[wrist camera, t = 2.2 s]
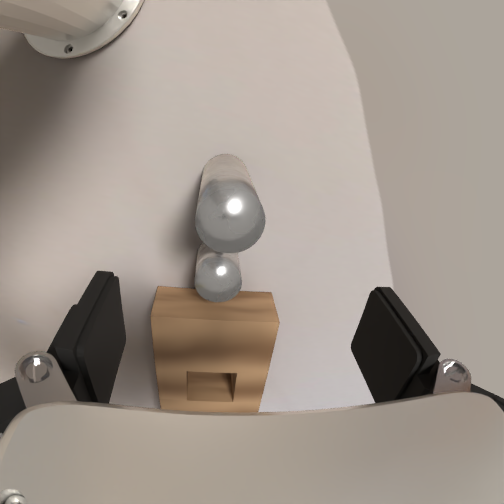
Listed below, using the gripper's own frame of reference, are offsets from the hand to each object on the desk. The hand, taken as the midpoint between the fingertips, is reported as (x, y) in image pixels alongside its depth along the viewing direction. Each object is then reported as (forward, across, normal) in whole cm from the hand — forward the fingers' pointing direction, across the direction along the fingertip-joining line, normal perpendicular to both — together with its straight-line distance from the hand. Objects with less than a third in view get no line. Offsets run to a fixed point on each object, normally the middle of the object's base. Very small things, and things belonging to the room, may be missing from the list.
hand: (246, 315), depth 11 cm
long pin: (+19, 0, 0) cm, 19 cm away
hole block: (+19, 0, +22) cm, 29 cm away
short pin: (+19, 0, +8) cm, 21 cm away
